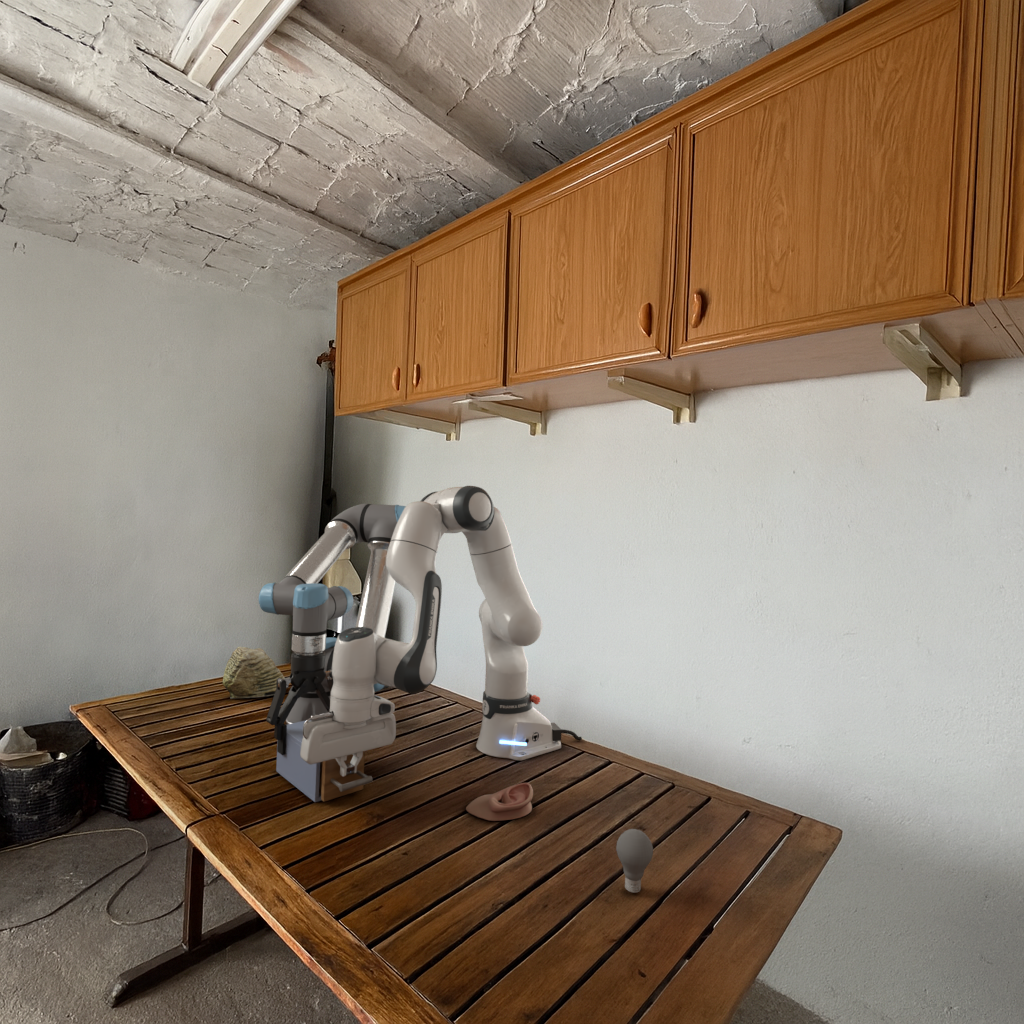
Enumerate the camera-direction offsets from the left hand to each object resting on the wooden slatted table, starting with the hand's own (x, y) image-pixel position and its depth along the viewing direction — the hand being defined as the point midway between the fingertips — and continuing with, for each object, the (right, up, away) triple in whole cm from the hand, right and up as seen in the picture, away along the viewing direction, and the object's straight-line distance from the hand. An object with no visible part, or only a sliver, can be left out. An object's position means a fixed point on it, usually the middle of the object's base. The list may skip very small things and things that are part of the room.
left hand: (304, 747), depth 146 cm
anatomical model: (+45, -8, -14) cm, 48 cm away
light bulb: (+68, -9, -40) cm, 80 cm away
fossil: (-33, -3, +52) cm, 62 cm away
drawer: (+8, -5, -9) cm, 13 cm away
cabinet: (+4, -6, -4) cm, 8 cm away
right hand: (+14, 0, -15) cm, 21 cm away
